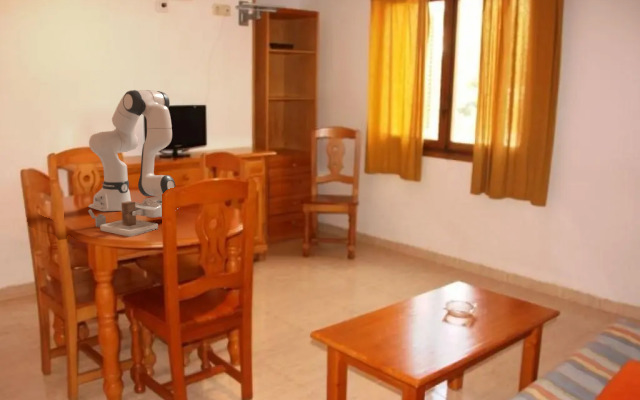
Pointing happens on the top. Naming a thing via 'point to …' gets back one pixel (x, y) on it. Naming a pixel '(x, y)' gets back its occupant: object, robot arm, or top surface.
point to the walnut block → (128, 213)
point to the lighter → (98, 218)
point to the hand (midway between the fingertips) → (127, 212)
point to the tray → (129, 228)
